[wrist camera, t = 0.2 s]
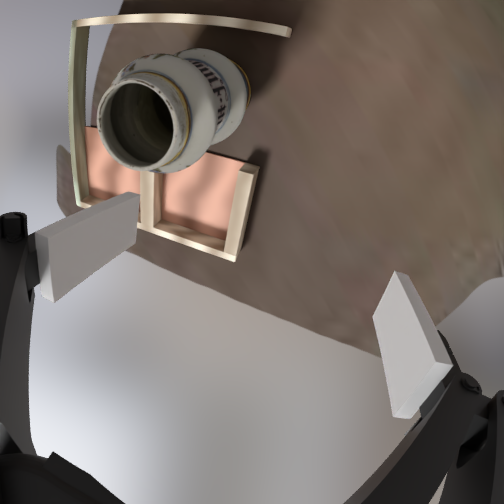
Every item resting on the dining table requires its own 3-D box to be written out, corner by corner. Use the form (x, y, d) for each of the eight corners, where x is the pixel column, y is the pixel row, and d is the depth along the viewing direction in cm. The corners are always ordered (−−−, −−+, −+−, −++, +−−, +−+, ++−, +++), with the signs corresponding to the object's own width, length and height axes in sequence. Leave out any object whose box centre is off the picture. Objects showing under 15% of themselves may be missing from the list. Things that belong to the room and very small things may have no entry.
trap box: (292, 29, 28) (287, 26, 26) (240, 250, 50) (234, 262, 48) (85, 19, 32) (72, 20, 29) (86, 197, 54) (76, 205, 51)
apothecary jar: (224, 150, 41) (155, 215, 27) (160, 101, 38) (67, 141, 25) (279, 84, 33) (226, 109, 19) (204, 31, 31) (111, 31, 17)
